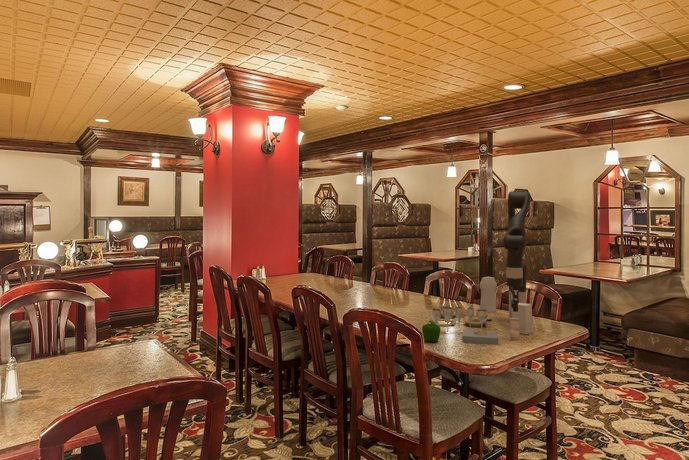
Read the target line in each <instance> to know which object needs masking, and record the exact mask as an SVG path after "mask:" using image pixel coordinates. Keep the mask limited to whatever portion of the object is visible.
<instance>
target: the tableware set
mask: <svg viewBox="0 0 689 460" xmlns="http://www.w3.org/2000/svg"><path fill="white" fill-rule="evenodd" d="M437 309H440V310H441V317H440V319H439V321H445V322H447V321H446V319H445V318H443V317H444V316H443V309H441V308H439V307H438V308H437ZM455 316H456V314H455V310H453V315H452V318H451V319H450V320H449V322H451V323H450V324H448V327H452V326H451V325H453V326H455V325H456V323H457V321H458V320H457V318H454V317H455ZM428 319H429V320H430V321H431V322H432V321H435V320H434V319H433V317H429V318H428ZM493 319H494V318H492V317H489V316H488V317H487V319H486V320H485V321H484V322H483V324H487V321H490V320H492V321H493ZM463 321H464V323H466V324H467V325H468V326H469V327H470V321H469V319H468V316H467V314H466V315H465V316H464V317H463ZM431 322H430V323H431ZM433 324H434V323H433ZM435 324H436V323H435ZM437 325H439V327H447V324H439V323H437ZM471 327H474V328H477V327H478V328H479V327H481V322H480V321H479V320H478V319H477V317H476V314H474V316H473V318H472V321H471Z"/></svg>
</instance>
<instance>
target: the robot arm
mask: <svg viewBox="0 0 689 460" xmlns="http://www.w3.org/2000/svg"><path fill="white" fill-rule="evenodd" d="M530 205H531V193H530V192H528V191H513V190H512V191H509V192H508V194H507V218H508V219H507V232H506V234H505V236H503V239H502V246H503V248H504V249H505V250H507V255H506V266H505V276H506V277H505V279H506V280H505V281H506V282H505V283H506V286H507V287H508V321H509V322H510V318H512V308H513V311H514V312H518V303H526V304H527V273H528V271H527V270H528V269H527V268H528V267H527V264H526V263H525V262H523V256H524V251H525V249H526V245H527V238H526V233H527V232H526V229H525V222H526V219H527V216H528V213H529V209H530ZM517 209H518V210H519V211H518V212H515V210H517Z"/></svg>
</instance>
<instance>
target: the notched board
mask: <svg viewBox="0 0 689 460" xmlns="http://www.w3.org/2000/svg"><path fill="white" fill-rule="evenodd" d="M462 331H463V332H462V333H463V335H462V343H465V342H466V343H468V344H470V343H471V344H484V345H485V344H487V345H499V336H498V331H493V330H492V331H491V330H490V331H489V330H486V332H485V333H486V334H485V335H481V334H475V329H474V330H473V329H471V330H470V329H463V330H462Z"/></svg>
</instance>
